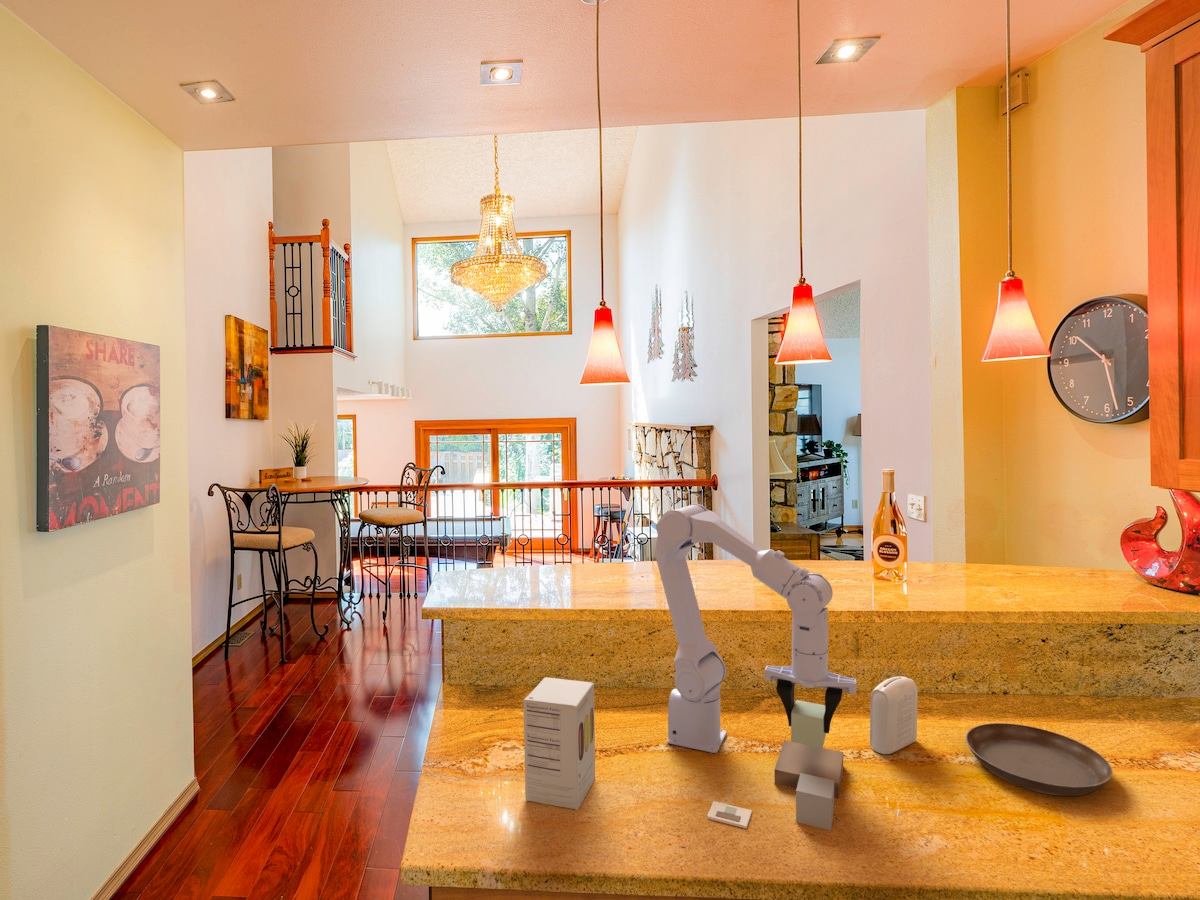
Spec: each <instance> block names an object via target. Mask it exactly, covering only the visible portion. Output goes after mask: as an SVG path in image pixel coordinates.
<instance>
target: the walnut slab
mask: <svg viewBox="0 0 1200 900" xmlns="http://www.w3.org/2000/svg"><path fill="white" fill-rule="evenodd" d="M843 771H844V751H841V750H840V751H839V750H836V749H831V748H826V747H823V748H818V747H814V746H809V745H804V744H800V743H795V742H791V740H783V743H782V745H781V748H780V752H779V755H778V758H777V760H776V764H775V767H774V785H777V786H780V787H784V788H788V789H789V788H790V789H794V790H796V789H797V785H798V781H799V777H800V773H803V774H807V775H812V776H817V777H821V778H826V779H830V780H834V799H839V798H840V792H841V791H840V790H841V783H842V778H843V777H842V776H843Z"/></svg>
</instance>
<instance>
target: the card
mask: <svg viewBox="0 0 1200 900" xmlns="http://www.w3.org/2000/svg"><path fill="white" fill-rule="evenodd" d="M752 814H753V810H751V809H747V808H743V807H739V806H735V805H733V804H732V805H731V804H728V803H724V802H718V801H715V800H713V801H712V803H711V807H710V808H709V811H708V813H707V815H706V819H707V820H712V821H716V822H718V823H719V822H720V823H723V824H728V825H731V826H733V827H734V826H735V827H739V828H742V829H748V826H749V823H750V820H751V817H752Z"/></svg>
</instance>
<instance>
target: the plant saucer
mask: <svg viewBox="0 0 1200 900" xmlns="http://www.w3.org/2000/svg"><path fill="white" fill-rule="evenodd" d="M965 742H966V744H967V746H968V748H969V750H970V751H971V752H972V754H973V756H974V757H975V759H977V761H979V763H980V764H981V765H983V766H984V767H985V768H986V769H987V770H989V771H990V772H991V773H992V774H994V775H995V776H997V777H998V778H1000V779H1002V780H1005V781H1007V782H1008V783H1011V784H1013V785H1015V786H1017V787H1019V788H1023V789H1026V790H1030V791H1033V792H1037V793H1041V794H1045V795H1046V794H1047V795H1052V796H1060V797H1062V796H1064V797H1073V796H1074V797H1075V796H1082V795H1086V794H1090V793H1092V792H1094V791H1096V790H1098V789H1100V788H1102V787H1103V786H1104V785H1105V784H1107V783H1108V782H1109V781H1110V779H1112V776H1113V768H1112V766H1111V764H1110V763H1109V762H1108V761H1107V759H1105V758H1104V756H1102V755H1101V754H1100V753H1098V752H1097V751H1096V750H1094V749H1093V748H1091V747H1089V746H1088V745H1085V744H1084V743H1082V742H1080V741H1077V740H1075V739H1073V738H1070V737H1068V736H1065V735H1063V734H1059V733H1057V732H1053V731H1051V730H1047V729H1043V728H1040V727H1035V726H1029V725H1023V724H1016V723H1008V722H1007V723H1003V722H1001V723H1000V722H994V723H993V722H992V723H991V722H990V723H984V724H979V725H975V726H974V727H972V728H970V729H969V730H968V731H967V732H966V734H965Z"/></svg>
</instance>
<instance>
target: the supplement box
mask: <svg viewBox="0 0 1200 900" xmlns="http://www.w3.org/2000/svg"><path fill="white" fill-rule="evenodd" d="M522 705H523V707H522V708H523V741H524V742H523V743H524V746H523V747H524V748H523V749H524V783H525V784H524V785H525V786H524V787H525V788H524V790H525V792H524V794H525V795H524V796H525V801H527V802H533V803H539V804H544V805H549V806H556V807H561V808H567V809H571V810H575V811H578V810H579V808H580V807H581V805H582V803H583V801H584V799H585V798H586V796H587V794H588V793H589V790H590V789H591V787H592V785H593V783H594V781H595V780H596V748H595V747H596V746H595V745H596V743H595V741H596V739H595V738H596V736H595V735H596V733H595V732H596V731H595V726H596V725H595V684H594V682H591V681H583V680H573V679H563V678H556V677H555V678H554V677H545V676H544V677H543V679H542V680H541V681H540V682H539V683H538V684H537V685H536V687H535V688H534V689H533V690H532V691H531V692H530V693H529V694H528V695H527V696H525V698H524V699H523V704H522Z"/></svg>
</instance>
